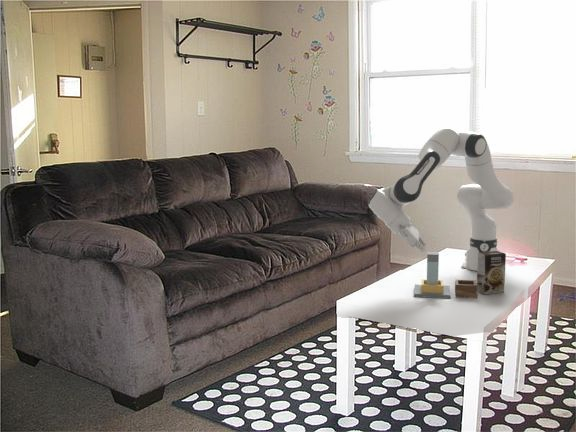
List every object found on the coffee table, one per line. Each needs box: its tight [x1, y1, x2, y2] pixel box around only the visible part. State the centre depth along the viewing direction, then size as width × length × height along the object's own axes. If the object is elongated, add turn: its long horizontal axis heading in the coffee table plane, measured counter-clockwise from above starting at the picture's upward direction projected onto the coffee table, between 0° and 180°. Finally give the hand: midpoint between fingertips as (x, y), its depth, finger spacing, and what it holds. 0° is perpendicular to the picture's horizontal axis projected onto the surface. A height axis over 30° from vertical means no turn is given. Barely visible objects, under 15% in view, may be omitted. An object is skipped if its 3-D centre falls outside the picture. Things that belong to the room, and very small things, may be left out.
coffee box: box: [476, 251, 507, 295], centre depth 255 cm, size 9×6×16 cm
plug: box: [426, 251, 440, 285], centre depth 255 cm, size 4×4×15 cm
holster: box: [454, 279, 478, 299], centre depth 252 cm, size 8×8×5 cm
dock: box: [413, 279, 451, 299], centre depth 256 cm, size 14×14×4 cm
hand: (424, 248), depth 254 cm, fingers open, 8 cm apart
